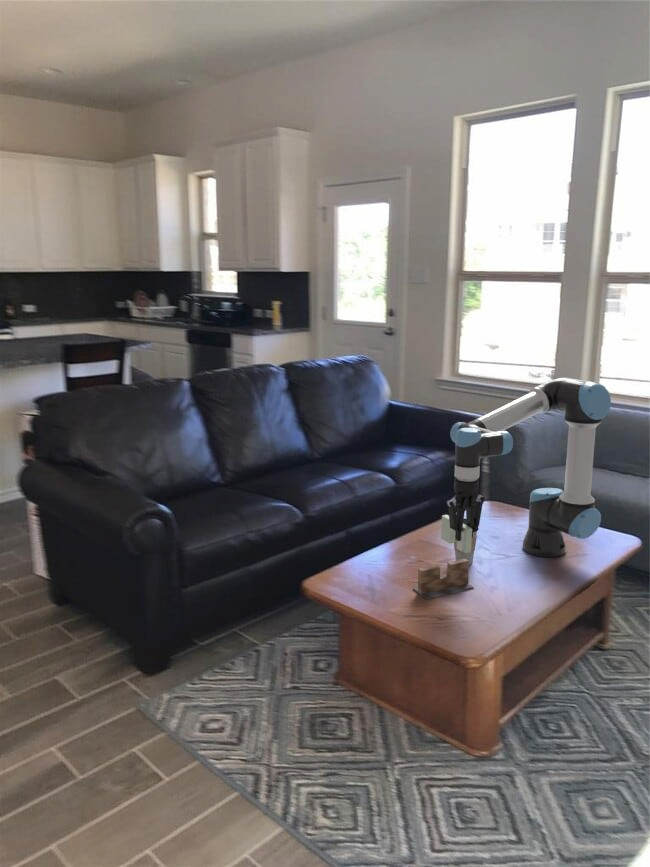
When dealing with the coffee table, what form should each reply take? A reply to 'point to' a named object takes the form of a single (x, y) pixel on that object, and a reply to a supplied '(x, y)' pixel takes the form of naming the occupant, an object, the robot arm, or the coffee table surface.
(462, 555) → the coffee cup
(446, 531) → the pale green upright panel
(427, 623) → the coffee table surface
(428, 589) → the brown piece
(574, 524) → the robot arm
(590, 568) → the coffee table surface
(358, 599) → the coffee table surface
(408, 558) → the coffee table surface
